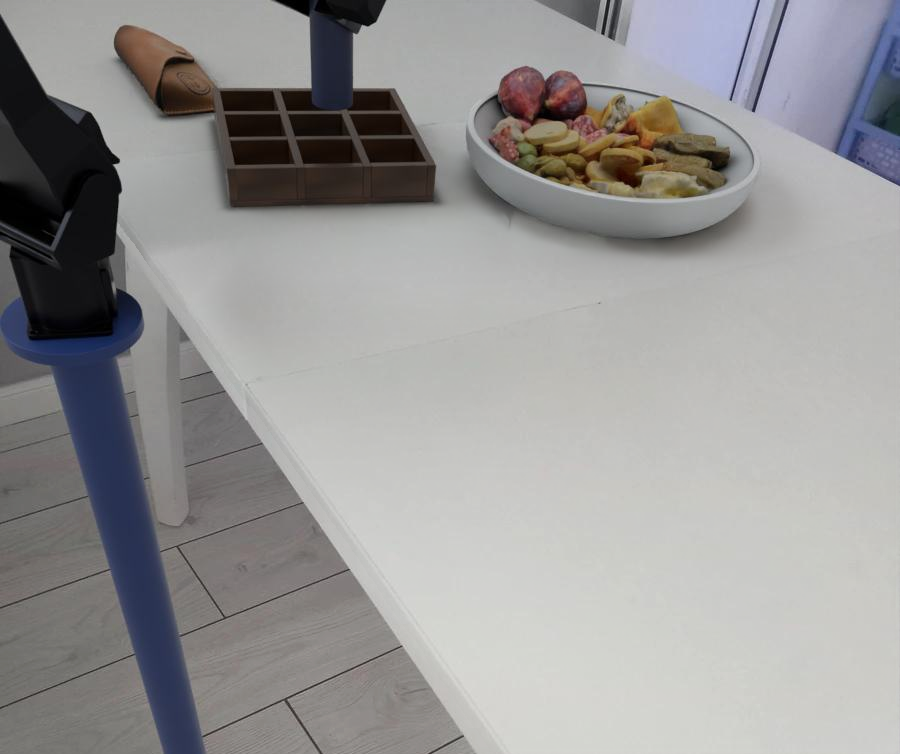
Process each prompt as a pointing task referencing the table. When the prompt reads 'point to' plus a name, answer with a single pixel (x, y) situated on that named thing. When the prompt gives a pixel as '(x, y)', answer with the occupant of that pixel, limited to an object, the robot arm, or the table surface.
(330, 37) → the navy round peg
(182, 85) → the sunglasses case
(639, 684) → the table surface
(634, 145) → the bowl
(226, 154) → the grid
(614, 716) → the table surface
